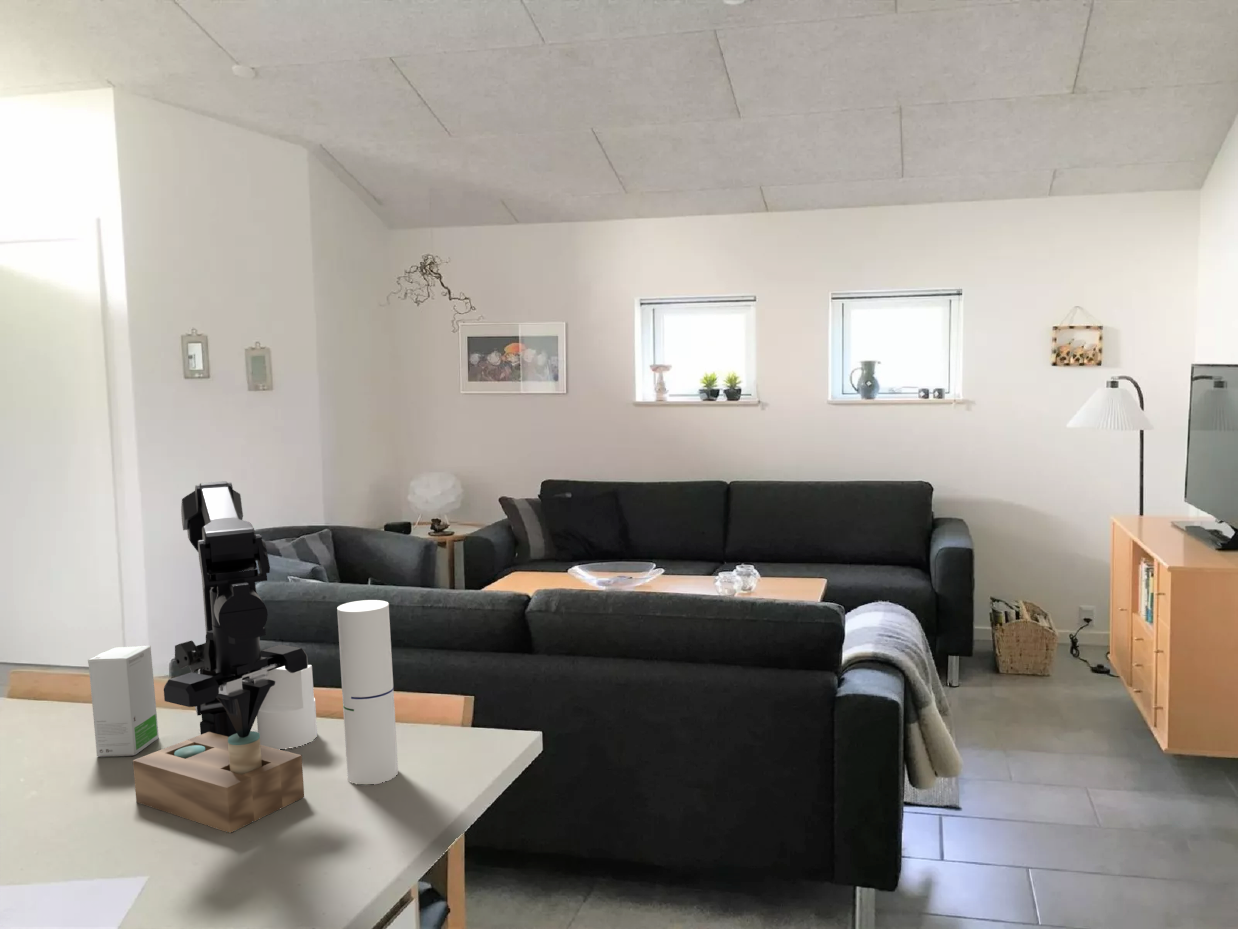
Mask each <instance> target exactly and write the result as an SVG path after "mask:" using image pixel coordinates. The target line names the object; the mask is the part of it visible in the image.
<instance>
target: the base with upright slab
mask: <svg viewBox="0 0 1238 929" xmlns="http://www.w3.org/2000/svg"><path fill="white" fill-rule="evenodd" d="M267 675H268V679H269V680H274V681H275V685H274V686H272V687H271V688H270V689H269V691H268V693H267V695H266V697H265V699H264V701H263V703H262V705H261V707H260V709H259V711H258V714H257V716H256V723H257V732H258V733H259V734H260V745H263V746H267V747H271V748H275V749H285V748H289V747H296V748H298V747H297V746H300V745H303V744H306V745H308V744H307V743H308V742H310V741H312V740H313V739H314V738H315V737H317V738H318V725H317V723H318V722H317V710H316V698H315V697H314V696H315V695H314V678H313V666H312V664H308V668H306V669H303V670H300V671H297V672H295V673H290V672H289V671H287V670H286V669H285V666H282V667H279V668H276V669H273V670H270V671H268V672H267ZM303 746H304V745H303ZM285 750H286V749H285Z"/></svg>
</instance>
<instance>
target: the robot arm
mask: <svg viewBox="0 0 1238 929" xmlns="http://www.w3.org/2000/svg"><path fill="white" fill-rule="evenodd" d="M241 497H242V496H241V493H240V492H238V491H237V490H234V489H233V484H232V482H228V481H226V480H224V481H223V480H222V481H213V482H212V481H211V482H200V483H199V484H196V485H194V491H192V492H191V493H189V494H186V496H184V497H183V498H181V506H180V508H181V509H180V511H181V512H180V513H181V514H180V515H181V524H182V530H183V531H187V532H186V533H187V538H188V541H189V542H190V544H191V545H192V547H194V549H195V551H196V552H197V553H198V560H199V568H200V574H201V583H202V584H201V585H202V600H203V610H204V611H203V612H204V613H203V614H204V624H205V625H204V626H205V627H204V628H205V642H204V643H200V644H197V645H196V644H195V642H194V641H193V640H188V641H186V642H181V643H179V644H176V645H174V659H175V662H176V663H175V664H176V666H177V668H179V669H184V668H187V667H188V668H189V670H190V672H188V673H184V674H182V675H178V676H175V677H172V678H169V679H167V681H166V683H165V684H164V687H163V698H164V702H166V703H171V704H175V705H178V706H183V707H188V708H195V712H196V715H197V717H198V716H201V720H200V722H199V728H200V729H199V731H200V735H202V734H204V733H207V732H212V733H215V734H219V735H223V736H227V737H230V736H231V735H233V734H236V733H237V734H238V736H239V737H242V738H244V737H246V736H248V735H249V733H250V731H251V730H252V728H253V726H254V723H255V721H256V720H257V714H258V711H259V709H260V707H261V705H262V703H263V701H264V699H265V697H266V695H267V693H268V691H269V689H270V688H271V687H272V686H274V685H275V681H274V680H269V679H268V675H267V672H268V671H270V670H273V669H276V668H279V667H282V666H285V669H286V670H287V671H289V672H290V673H295V672H297V671H300V670H303V669H306V668H308V665H309V662H308V655H307V653H306V651H305V650H304V649H303V648H302V647H297V646H291V645H287V644H278V645H275V646H271V647H269V648H265V649H262V650H261V639H260V637H264V636H266V634H267V632H266V624H267V621H268V609H267V607H266V604H265V603H264V601H263V600H262V598H261V597H260V595H259V594H258V593H257V585H256V583H259V582H267V581H268V575H267V574H270V573H271V570H270V569H271V565H270V560H269V556H268V549H267V545H266V541H264V540H263V538H262V535H260V533H259V534H256V531H255V528H254V526H253V524H252V523H251V522H250V521H246V520H243V517H244V513H243V505H242V498H241ZM257 568H258V569H257Z"/></svg>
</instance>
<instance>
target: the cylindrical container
mask: <svg viewBox="0 0 1238 929" xmlns="http://www.w3.org/2000/svg"><path fill="white" fill-rule="evenodd" d="M336 609H337V611H336V613H337V626H338V628H337V630H338V642H339V643H338V644H339V645H338V646H339V660H340V677H341V678H340V679H341V695H342V705H343V706H342V710H343V712H342V713H343V724H344V726H343V728H344V738H345V739H344V740H345V745H344V746H345V758H346V771H347V772H346V774H347V775H346V776H347V780H349V781H351V782H353V783H357V784H374V785H378V784H383V783H386V782H385V781H387V782H389V781H391V780H393V779H394V778H396V777H397V776H396V775H399V763H398V745H397V727H396V709H395V707H396V706H395V694H394V693H395V692H394V675H393V658H392V657H393V656H392V640H391V624H390V623H391V621H390V603H389V602H388V601H385V600H379V599H364V600H363V599H362V600H355V601H350V602H345V603H342V604H339V605H338V606H337V608H336ZM392 778H393V779H392ZM349 781H348V782H349ZM351 782H350V783H351ZM382 782H383V783H382ZM353 783H352V784H353ZM357 784H356V785H357Z"/></svg>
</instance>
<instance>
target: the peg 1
mask: <svg viewBox="0 0 1238 929" xmlns="http://www.w3.org/2000/svg"><path fill="white" fill-rule="evenodd" d="M204 751H205V747H204V746H200V745H194V746H187V747H183V748H180V749H178V750H177V751H175V753H174V756H177V757H181V758H184V759H186V758H189V757H192V756H194V755H197V754H199V753H202V752H204Z"/></svg>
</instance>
